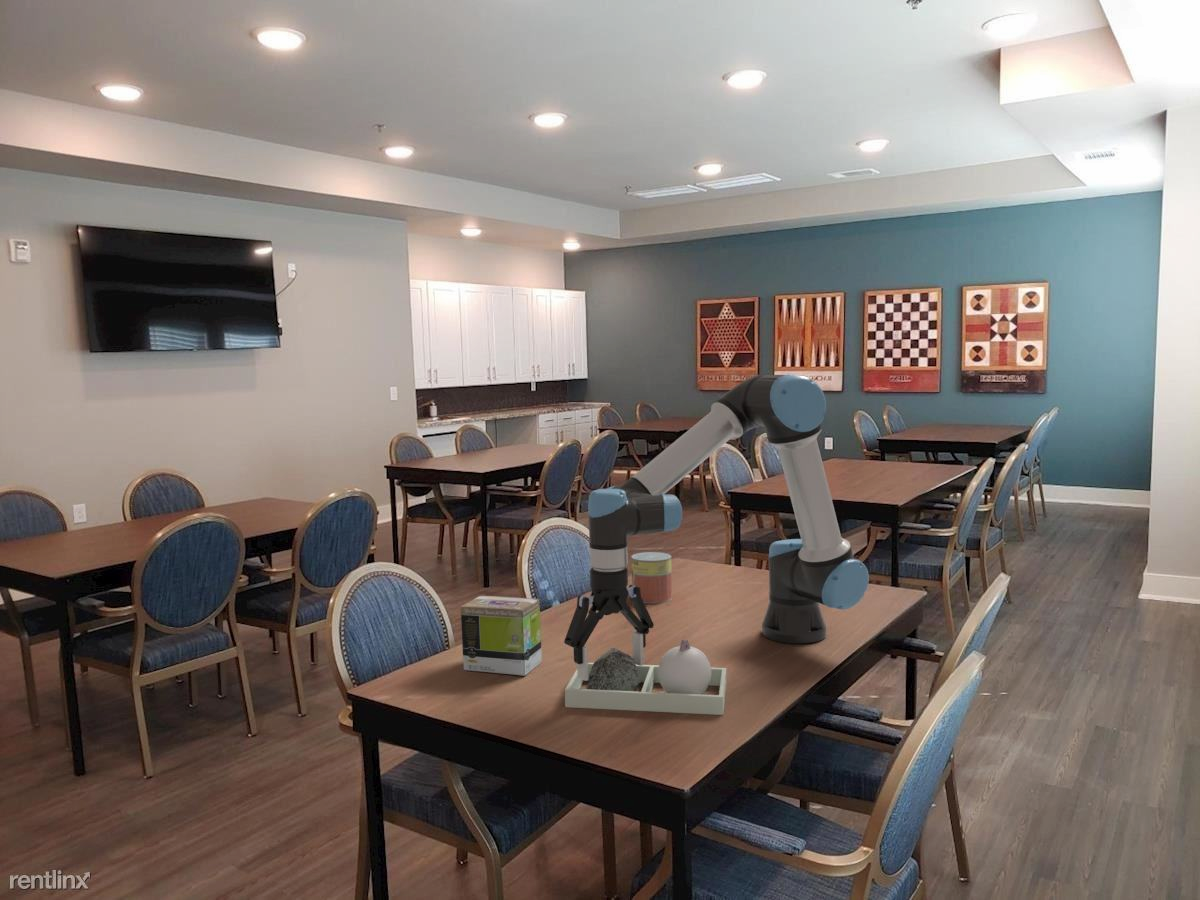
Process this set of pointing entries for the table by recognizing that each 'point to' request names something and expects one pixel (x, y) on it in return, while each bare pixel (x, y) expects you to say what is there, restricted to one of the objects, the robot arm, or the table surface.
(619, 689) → the stone
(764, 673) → the table surface
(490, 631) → the tea box
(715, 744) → the table surface
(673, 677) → the ornament
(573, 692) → the holder
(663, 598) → the canned food
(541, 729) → the table surface
